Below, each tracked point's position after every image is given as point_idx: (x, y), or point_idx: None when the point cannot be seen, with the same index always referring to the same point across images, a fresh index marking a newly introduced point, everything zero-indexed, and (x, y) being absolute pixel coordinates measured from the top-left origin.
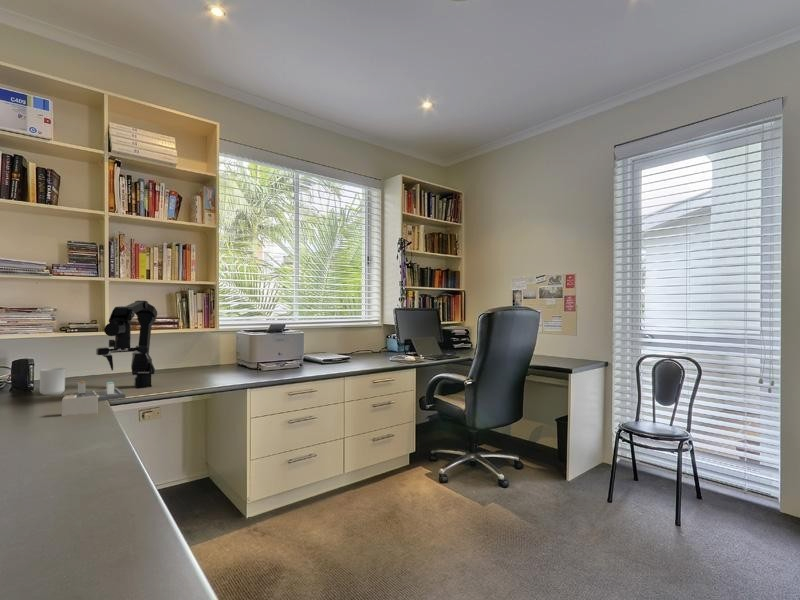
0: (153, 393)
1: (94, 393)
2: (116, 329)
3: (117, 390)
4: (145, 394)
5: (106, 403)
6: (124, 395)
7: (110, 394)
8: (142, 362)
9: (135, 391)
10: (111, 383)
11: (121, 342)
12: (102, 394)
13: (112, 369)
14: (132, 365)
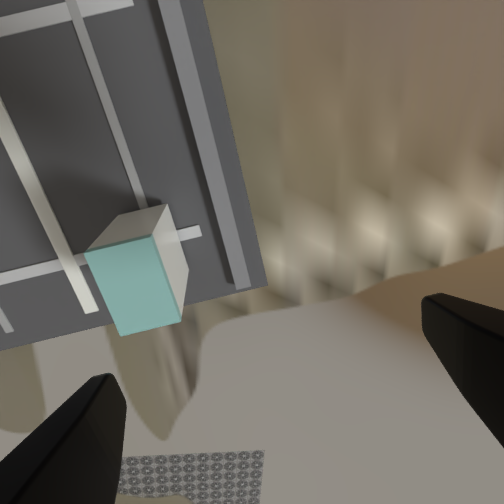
0: (451, 194)
1: (3, 144)
2: None
3: (197, 137)
4: (396, 208)
5: (173, 394)
6: (262, 282)
7: None
8: None
9: (340, 3)
10: (156, 325)
11: None
12: (94, 217)
13: (117, 425)
14: (472, 397)
